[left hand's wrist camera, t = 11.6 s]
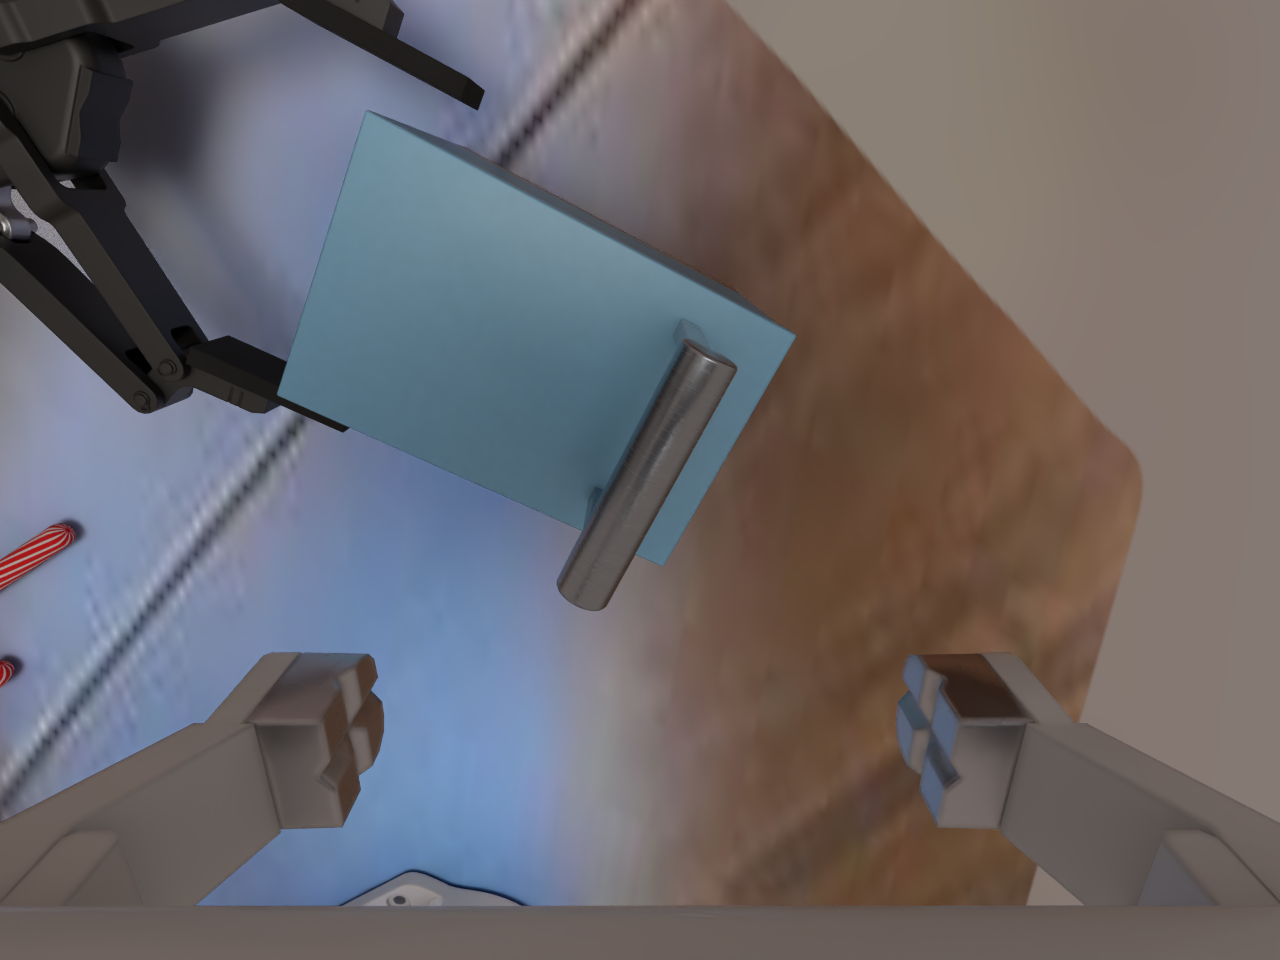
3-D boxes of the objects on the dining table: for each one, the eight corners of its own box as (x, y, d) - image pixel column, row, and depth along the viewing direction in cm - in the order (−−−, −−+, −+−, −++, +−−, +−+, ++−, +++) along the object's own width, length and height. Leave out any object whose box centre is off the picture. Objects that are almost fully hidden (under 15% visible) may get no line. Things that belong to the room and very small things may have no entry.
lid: (789, 329, 24) (858, 382, 17) (662, 553, 28) (671, 682, 20) (379, 114, 22) (240, 60, 14) (292, 387, 25) (139, 462, 17)
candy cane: (147, 592, 41) (130, 605, 39) (-23, 701, 43) (-44, 716, 42) (67, 513, 39) (46, 524, 37) (-104, 632, 41) (-130, 646, 40)
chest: (736, 291, 34) (777, 322, 24) (647, 457, 38) (650, 547, 27) (462, 146, 32) (380, 113, 22) (392, 337, 35) (292, 386, 25)
